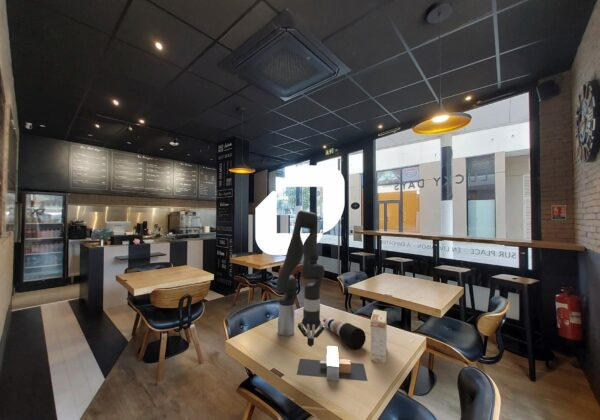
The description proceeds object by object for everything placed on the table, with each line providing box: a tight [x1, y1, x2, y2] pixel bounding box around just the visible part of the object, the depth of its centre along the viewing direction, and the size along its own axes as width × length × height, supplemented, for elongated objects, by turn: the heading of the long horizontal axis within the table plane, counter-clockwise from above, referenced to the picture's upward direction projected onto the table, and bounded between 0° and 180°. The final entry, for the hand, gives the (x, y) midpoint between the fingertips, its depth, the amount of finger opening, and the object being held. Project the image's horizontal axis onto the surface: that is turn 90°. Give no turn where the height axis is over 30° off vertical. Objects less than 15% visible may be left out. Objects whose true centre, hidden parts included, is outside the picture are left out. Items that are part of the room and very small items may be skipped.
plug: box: [320, 358, 352, 373], centre depth 110 cm, size 14×3×4 cm, turn 83°
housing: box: [326, 345, 340, 382], centre depth 110 cm, size 5×16×6 cm, turn 173°
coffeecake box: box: [370, 309, 388, 365], centre depth 123 cm, size 15×7×20 cm, turn 157°
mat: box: [296, 358, 368, 382], centre depth 110 cm, size 30×12×1 cm, turn 83°
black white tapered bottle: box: [322, 317, 367, 350], centre depth 142 cm, size 10×34×10 cm, turn 23°
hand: (310, 345), depth 111 cm, fingers closed
